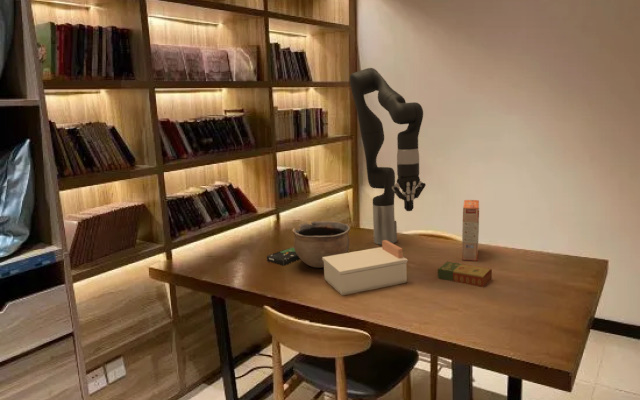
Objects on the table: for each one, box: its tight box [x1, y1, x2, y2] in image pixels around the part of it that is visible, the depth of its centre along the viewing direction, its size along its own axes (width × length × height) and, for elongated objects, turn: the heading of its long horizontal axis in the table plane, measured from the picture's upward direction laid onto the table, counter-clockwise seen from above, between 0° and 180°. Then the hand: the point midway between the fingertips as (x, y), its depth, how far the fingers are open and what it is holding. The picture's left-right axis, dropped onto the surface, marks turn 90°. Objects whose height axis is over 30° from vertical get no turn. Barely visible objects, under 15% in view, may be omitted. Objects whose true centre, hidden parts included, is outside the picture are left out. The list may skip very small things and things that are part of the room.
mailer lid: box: [322, 240, 409, 275], centre depth 163 cm, size 25×16×4 cm, turn 110°
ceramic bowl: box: [292, 220, 351, 269], centre depth 182 cm, size 22×22×15 cm
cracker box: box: [461, 199, 480, 262], centre depth 183 cm, size 14×6×21 cm, turn 161°
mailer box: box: [323, 262, 408, 296], centre depth 164 cm, size 24×16×7 cm, turn 110°
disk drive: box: [266, 246, 301, 266], centre depth 193 cm, size 10×3×15 cm
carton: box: [437, 261, 493, 288], centre depth 162 cm, size 8×16×4 cm, turn 52°
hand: (408, 210), depth 166 cm, fingers closed
